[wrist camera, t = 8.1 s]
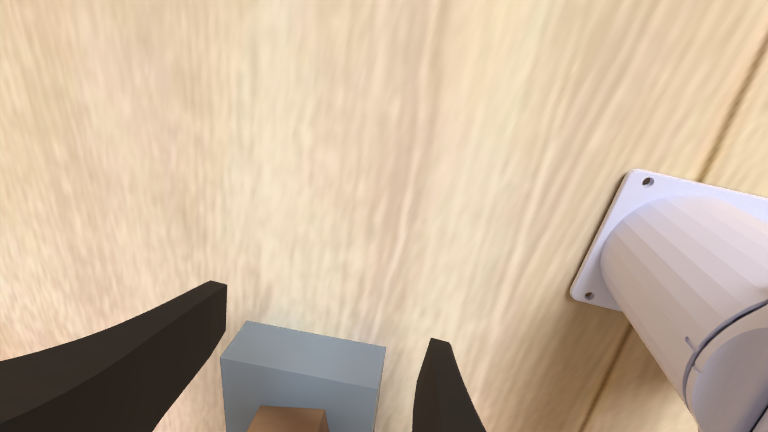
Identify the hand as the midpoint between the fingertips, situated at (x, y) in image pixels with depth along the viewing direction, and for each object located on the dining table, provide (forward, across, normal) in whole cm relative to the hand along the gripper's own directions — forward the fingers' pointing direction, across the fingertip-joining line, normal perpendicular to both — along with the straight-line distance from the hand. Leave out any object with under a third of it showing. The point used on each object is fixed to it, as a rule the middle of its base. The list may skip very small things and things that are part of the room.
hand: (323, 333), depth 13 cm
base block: (+11, +2, +15) cm, 19 cm away
